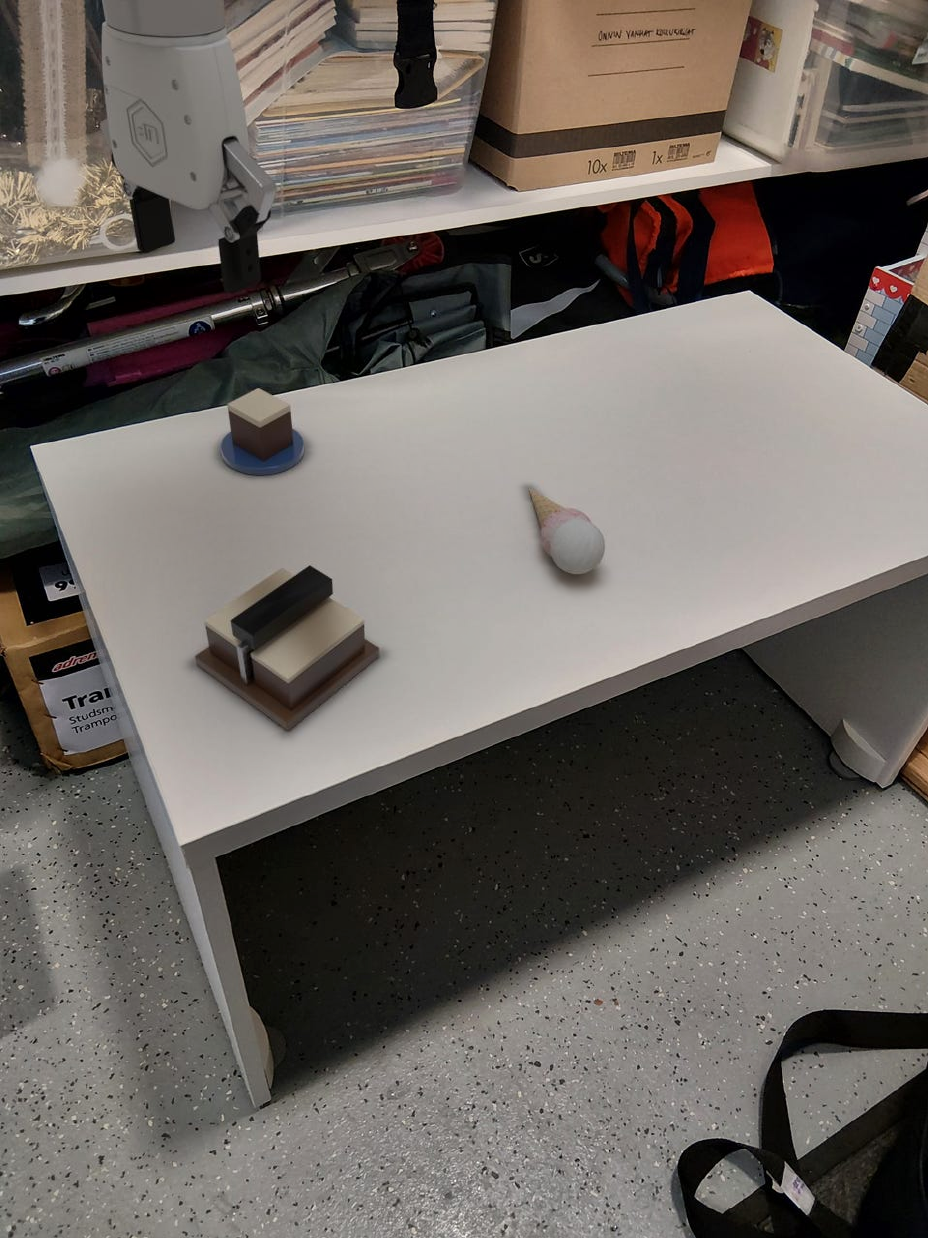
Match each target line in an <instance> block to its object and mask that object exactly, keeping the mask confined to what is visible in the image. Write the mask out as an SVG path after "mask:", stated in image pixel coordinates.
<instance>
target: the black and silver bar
mask: <svg viewBox="0 0 928 1238" xmlns="http://www.w3.org/2000/svg"><path fill="white" fill-rule="evenodd" d="M294 575H295V576H293V577H292V578H290V579H289V580H288V581H286V582H285V583H283V584H282V585H280V586H279V587H278V588H276V589H275V590H273V591H272V592H270V593H269V594H267V595H266V596H265V597H263V598H262V599H260V600H259V601H257V602H256V603H255V604H253V605H252V606H250V607H249V608H247V609H246V610H244V611H243V612H242V613H240V614H239V615H237V616H236V617H234V618H233V619H231V627H232V633H233V636H234V637H236V638H237V639H239V640H240V641H242V642H240V643H239V644H238V645H236V648H237V654H238V660H239V666H240V673H241V679H242V682H243V683H244V684H246V685H249V684H250V683H251V682H253V681H254V680H255V678H254V672H253V665H252V658H251V653H252V652H253V651H256V650H258V649H259V648H260V647H262V646H263V645H264V644H266V643H267V642H268V641H270V640H271V639H273V638H274V637H275V636H277V635H278V634H279V633H281V632H282V631H283V630H285V629H286V628H287V627H289V626H290V625H292V624H293V623H294V622H296V621H297V620H298V619H300V618H301V617H302V616H304V615H305V614H306V613H308V612H309V611H311V610H312V609H313V608H315V607H316V606H317V605H319V604H320V603H321V602H323V601H324V600H326V599H327V598H328V597H330V598H331V596H333V595H334V586H333V578H331V577H330V576H328V575H327V574H325V573H323V572H321V571H320V570H318V569H317V568H315V567H314V566H312V565H311V564H309V565H308V566H306V567H304V568H303V569H302V570H301V571H299V572H298V573H296V574H294Z"/></svg>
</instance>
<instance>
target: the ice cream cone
mask: <svg viewBox="0 0 928 1238" xmlns="http://www.w3.org/2000/svg"><path fill="white" fill-rule="evenodd" d="M528 492H529V494H530V497H531V500H532V503H533V506H534V509H535V512H536V516H537V518H538V521H539V524H540V527H541V531H540V541H541V544H542V547H543V549H544V550H545V552H546V553H547V554H548V555H549V556H550V557H551V559H552V560H553V562H554V564H555V565H556V566H557V567H558V568H559V569H560V570H562V571H564V572H566V573H568V574H572V575H582V574H587V573H589V572H591V571H592V570H594V569H596V568H597V567H598V566H599V565H600V563H601V562H602V560H603V558H604V555H605V552H606V551H605V550H606V540H605V538H604V534H603V533H602V531H601V529H600V528H599V527H598V526H597V525H595V524H594V523H593V522H592V520H591V519H590V518H589V516H588V515H587V514H585V512H582V511H581V510H579V509H577V508H572V507H564V506H562V505H561V504H559V503H556V502H554V501H553V500H551V499H549V498H547V497H545V496H544V495H541V494H540V493H538V492H536V491H534V490H532V489H531V488H528Z"/></svg>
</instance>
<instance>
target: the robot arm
mask: <svg viewBox="0 0 928 1238" xmlns="http://www.w3.org/2000/svg"><path fill="white" fill-rule="evenodd" d="M101 2H102V8H103V9H102V10H103V14H104V19H105V21H103V22H102V24H101V67H102V68H101V69H102V82H103V91H104V92H103V94H104V101H105V108H106V116H107V117H106V118H105V119H103V120H101V121H100V123H99V128H100V131H101V134H102V136H103V138H104V141H105V143H106V145H107V147H108V150H109V152H111V154H110V158H111V159H110V160H111V164H112V165H113V166H114V168H115V169H116V171H117V173H118V175H120V177H121V179H122V181H121V189H122V193H124V195H125V196H126V197H127V198H129V200H128V201H129V207H130V213H131V218H132V225H133V229H134V235H135V241H136V245H137V249H138V251H139V252H141V253H144V254H149V253H150V252H154V251H156V250H159V249H162V248H165V247H168V246H170V245H173V244H174V243H175V242H176V236H175V230H174V224H173V217H172V216H173V215H172V209H171V202H170V201H173V202H175V203H177V204H179V205H182V206H185V207H187V208H189V209H192V210H197V211H201V210H205V209H209V211H210V213H211V214H212V216H213V218H214V220H215V222H216V224H217V225H218V227H219V229H220V231H221V233H222V235H223V237H221V238H218V242H217V243H218V244H217V245H218V253H219V261H220V269H221V271H220V272H221V278H222V279H221V280H222V286H223V290H224V292H226V293H228V294H230V295H234V294H236V293H239V292H241V291H244V290H246V289H249V288H252V287H254V286H256V285H258V284H260V282H261V281H262V275H261V262H260V261H261V260H260V251H259V239H258V234H260V233H262V232H263V230H264V225H265V224H266V223H267V222H268V220H270V218H271V215H272V211H271V210H272V207H273V204H274V202H275V198H276V196H277V192H278V187H277V183H276V182H275V181H274V180H273V178H272V177H271V176H270V175H269V174H268V173H267V172H266V171H265V170H264V169H263V167H261V166H260V164H259V163H258V162H257V161H256V160H255V158H253V157H252V156H251V149H250V141H249V139H250V138H249V130H248V125H247V115H246V111H245V105H244V98H243V93H242V87H241V83H240V77H239V73H238V69H237V64H236V59H235V54H234V50H233V47H232V43H231V39H230V38H229V37H227V35H228V30H227V20H226V11H225V9H226V8H225V0H101ZM230 203H234V205H235V207H236V209H237V211H238V213H237V214H236V216H235V217H234V218H233V216H232V214H231V212H230V211H229V208H228V207H227V204H230Z"/></svg>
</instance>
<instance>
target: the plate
mask: <svg viewBox="0 0 928 1238" xmlns="http://www.w3.org/2000/svg"><path fill="white" fill-rule="evenodd" d="M292 433H293V445H291V446H289V447H288V448H286V449H284V450H282V451H281V452H279V453H277V454H275V455H274V456H272V457H270V458H269V459H267V460H265V461H262V460H260V459H259V458H257V457H255V456H253V455H252V454H250V453H248V452H247V451H245V450H243V449H241V448H240V447H238V446H236V445H234V444H233V443H232V435H231V431H229V432H228V433H227V434H226V435H224V437H223V439H222V441H221V444H220V453H221V457H222V459H223V461H224V463H225V464H226V465H227V466H228V467H229V468H230V469H233V470H234V471H237V472H239V473H242V474H247V475H253V476H268V475H269V476H270V475H274V474H279V473H282V472H285V471H287V470H290V469H291V468H293V467H294V466H296V465H297V464H298V463H299V462H300V461H301V460H302V458H303V456H304V452H305V444H304V439H303V437H302V436H301V434H300V433H299V432H298V431H297V430H296V429H294V428H292Z"/></svg>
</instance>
